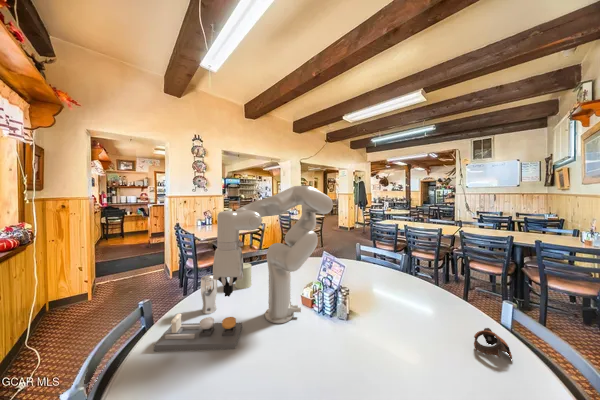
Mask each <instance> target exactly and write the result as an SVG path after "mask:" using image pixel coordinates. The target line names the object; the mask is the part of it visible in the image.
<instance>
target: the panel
mask: <svg viewBox="0 0 600 400" xmlns="http://www.w3.org/2000/svg"><path fill="white" fill-rule="evenodd" d="M180 328H183V330H182V332H181V333H180V334H170V333H171V332H172V324H171V325H170V326H169V328H167V330H166V331H165V332H164V333H163V334H162V335H161V337H160V338H159V339H158V340H157V341H156V343H155V344H154V345H153V351H154V352H161V351H163V352H164V351H165V352H168V351H169V352H171V351H201V350H202V351H204V350H205V351H206V350H207V351H208V350H213V351H214V350H236V347H237V345H238V341H239V337H240V334H241V332H242V329H243V322H236V325H235V326H234V327H233V328H231V329H225V328H223V327H222V322H214V325H213V326H212V327H211V328H209V329H207V330H206V329H201V328H200V322H198V323H197V322H196V323H181V327H180Z"/></svg>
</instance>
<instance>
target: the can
mask: <svg viewBox="0 0 600 400" xmlns="http://www.w3.org/2000/svg"><path fill="white" fill-rule="evenodd" d="M242 273H243V279H240V280H236V281H235V282H234V284H235V285H234V288H236V289H239V290H240V289H241V290H246V289H249V288H251V286H252V285H253V284H252V264H251V263H248V262H243V272H242Z"/></svg>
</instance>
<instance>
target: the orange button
mask: <svg viewBox="0 0 600 400" xmlns="http://www.w3.org/2000/svg"><path fill="white" fill-rule="evenodd" d="M221 323H222V327H223V328H225V329H231V328H233V327H234V326H235V325H236V323H237V318H236V317H234V316H228V317H225V318H224V319H223V320H222V321H221Z"/></svg>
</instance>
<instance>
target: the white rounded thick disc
mask: <svg viewBox="0 0 600 400" xmlns="http://www.w3.org/2000/svg"><path fill="white" fill-rule="evenodd" d="M199 323H200V328H201V329H206V330H207V329H209V328H211V327H212V326H213V325H214V323H215V318H214V317H211V316H208V317H204V318H202V319H201V320H200V321H199Z"/></svg>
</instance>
